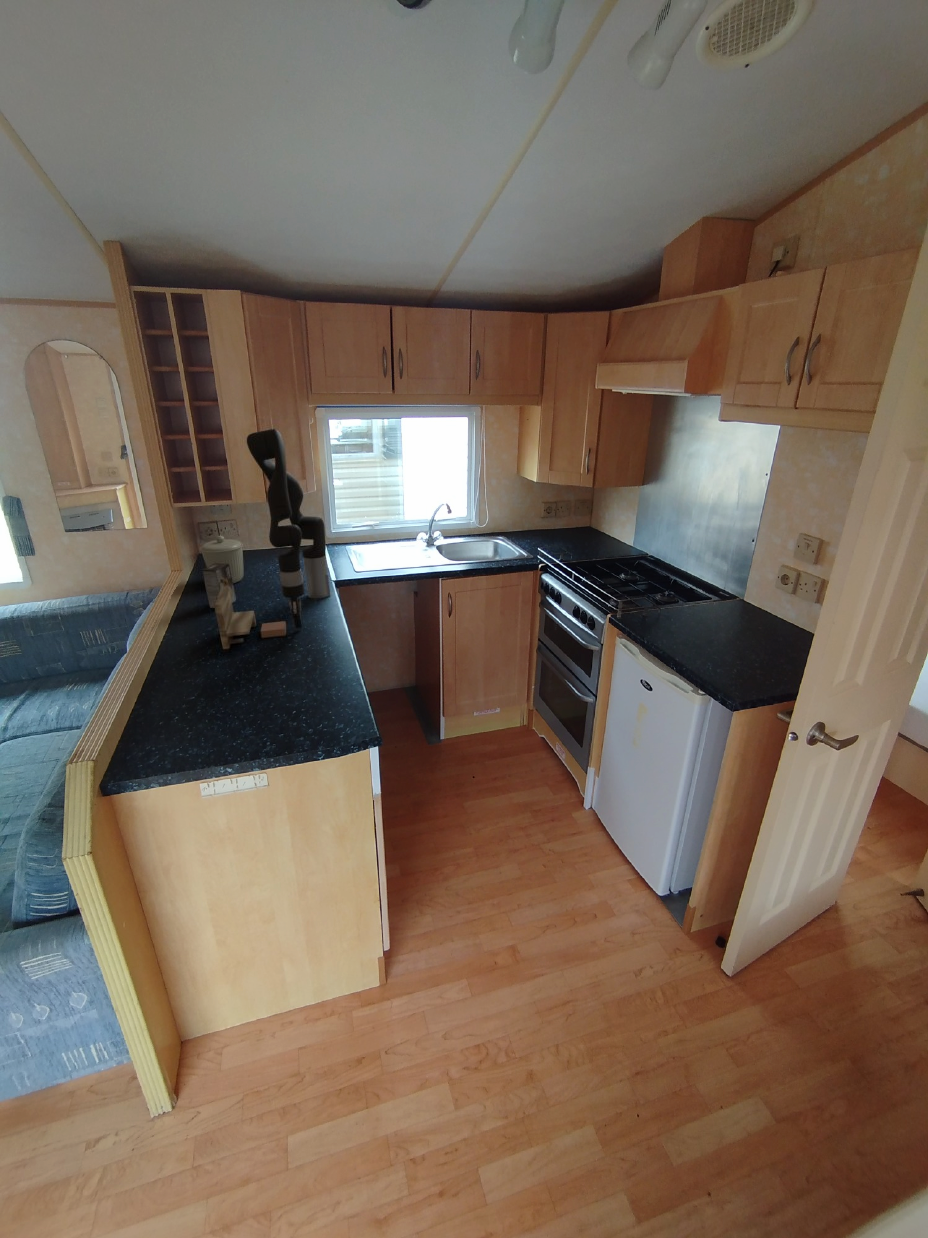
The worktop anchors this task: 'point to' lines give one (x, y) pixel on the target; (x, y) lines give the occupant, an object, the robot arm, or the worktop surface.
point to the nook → (231, 619)
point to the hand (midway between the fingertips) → (298, 627)
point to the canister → (225, 555)
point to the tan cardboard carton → (273, 629)
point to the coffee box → (218, 581)
